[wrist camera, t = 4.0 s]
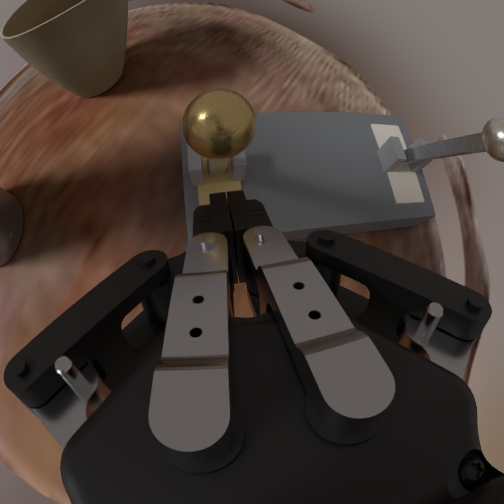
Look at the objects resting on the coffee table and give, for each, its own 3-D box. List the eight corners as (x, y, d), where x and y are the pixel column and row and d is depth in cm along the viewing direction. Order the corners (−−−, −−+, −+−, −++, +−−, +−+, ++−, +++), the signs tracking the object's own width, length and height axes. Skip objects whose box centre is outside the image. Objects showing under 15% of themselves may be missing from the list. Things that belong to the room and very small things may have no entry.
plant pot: (122, 34, 33) (101, -44, 17) (168, 73, 31) (150, -30, 16) (41, 87, 30) (-3, 19, 14) (69, 141, 29) (4, 56, 13)
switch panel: (194, 253, 27) (182, 234, 20) (185, 142, 29) (175, 101, 23) (415, 226, 30) (453, 206, 23) (386, 134, 32) (413, 102, 25)
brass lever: (201, 186, 24) (181, 158, 10) (197, 152, 24) (175, 82, 9) (236, 182, 25) (266, 148, 10) (232, 148, 24) (256, 74, 10)
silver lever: (388, 173, 26) (509, 158, 12) (384, 143, 26) (500, 111, 11) (411, 172, 27) (528, 162, 12) (407, 144, 26) (521, 119, 11)
